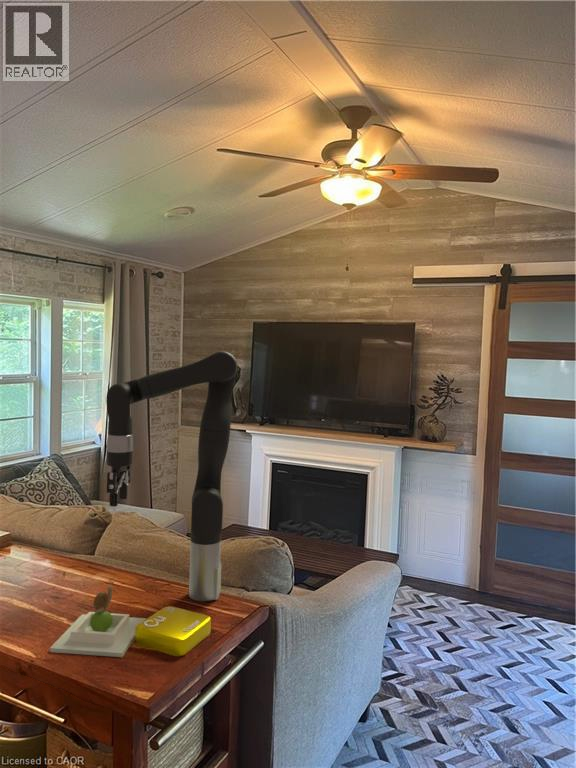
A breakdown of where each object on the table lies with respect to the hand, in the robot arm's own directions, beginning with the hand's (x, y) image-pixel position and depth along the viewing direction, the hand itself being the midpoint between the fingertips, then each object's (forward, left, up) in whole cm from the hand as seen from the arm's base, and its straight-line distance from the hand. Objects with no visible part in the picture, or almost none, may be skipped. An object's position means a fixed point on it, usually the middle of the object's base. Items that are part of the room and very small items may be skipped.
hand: (118, 502), depth 165 cm
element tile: (-24, +23, -29) cm, 44 cm away
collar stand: (-5, +25, -28) cm, 38 cm away
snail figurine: (-5, +24, -27) cm, 37 cm away
